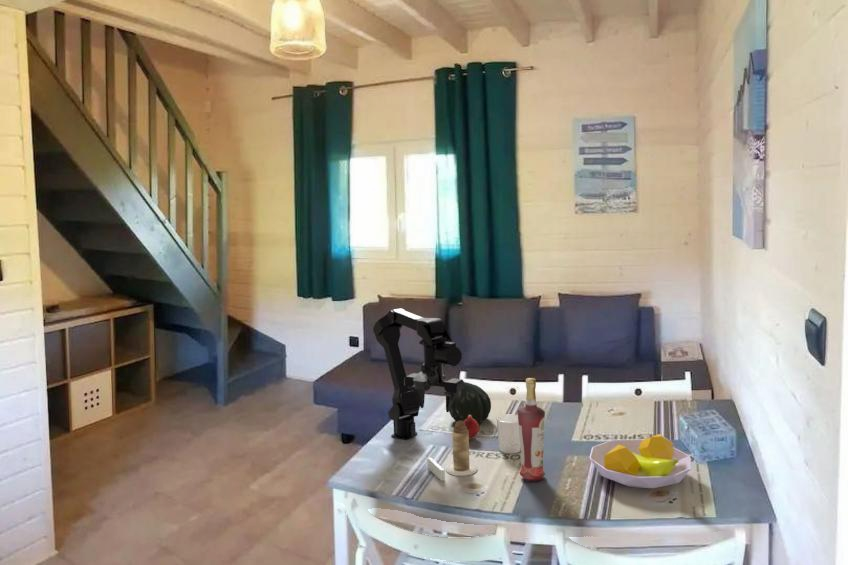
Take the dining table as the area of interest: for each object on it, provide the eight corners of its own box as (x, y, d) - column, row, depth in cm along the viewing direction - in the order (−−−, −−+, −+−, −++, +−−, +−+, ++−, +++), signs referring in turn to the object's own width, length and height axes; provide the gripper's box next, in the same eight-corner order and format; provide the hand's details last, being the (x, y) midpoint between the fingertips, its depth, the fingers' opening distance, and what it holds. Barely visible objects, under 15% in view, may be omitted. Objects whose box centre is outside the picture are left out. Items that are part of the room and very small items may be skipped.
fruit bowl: (579, 459, 191) (579, 422, 190) (673, 457, 190) (673, 420, 189) (602, 504, 163) (602, 460, 162) (712, 502, 162) (713, 458, 161)
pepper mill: (452, 471, 185) (451, 423, 183) (454, 464, 190) (453, 417, 188) (468, 471, 184) (467, 423, 183) (470, 464, 189) (468, 418, 187)
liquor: (539, 485, 175) (538, 384, 171) (514, 480, 179) (512, 381, 175) (549, 475, 181) (548, 377, 177) (525, 470, 185) (523, 374, 181)
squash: (505, 404, 227) (478, 370, 231) (485, 418, 215) (457, 382, 219) (479, 425, 235) (453, 391, 238) (459, 440, 222) (432, 404, 226)
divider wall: (427, 467, 189) (427, 457, 189) (431, 467, 190) (430, 457, 189) (441, 480, 180) (441, 470, 180) (444, 480, 180) (444, 469, 180)
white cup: (525, 446, 203) (524, 415, 202) (520, 455, 196) (520, 423, 194) (500, 443, 206) (499, 413, 204) (494, 453, 198) (494, 421, 197)
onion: (478, 442, 207) (477, 418, 206) (460, 442, 208) (459, 418, 207) (480, 436, 213) (479, 412, 212) (462, 435, 214) (462, 412, 213)
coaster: (440, 472, 186) (440, 470, 186) (455, 461, 193) (455, 459, 193) (468, 478, 181) (468, 477, 181) (482, 466, 188) (482, 465, 188)
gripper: (392, 363, 197) (395, 413, 199) (446, 369, 187) (448, 422, 189) (413, 355, 206) (414, 402, 208) (464, 361, 196) (466, 411, 198)
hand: (434, 409), depth 200 cm, fingers open, 9 cm apart
